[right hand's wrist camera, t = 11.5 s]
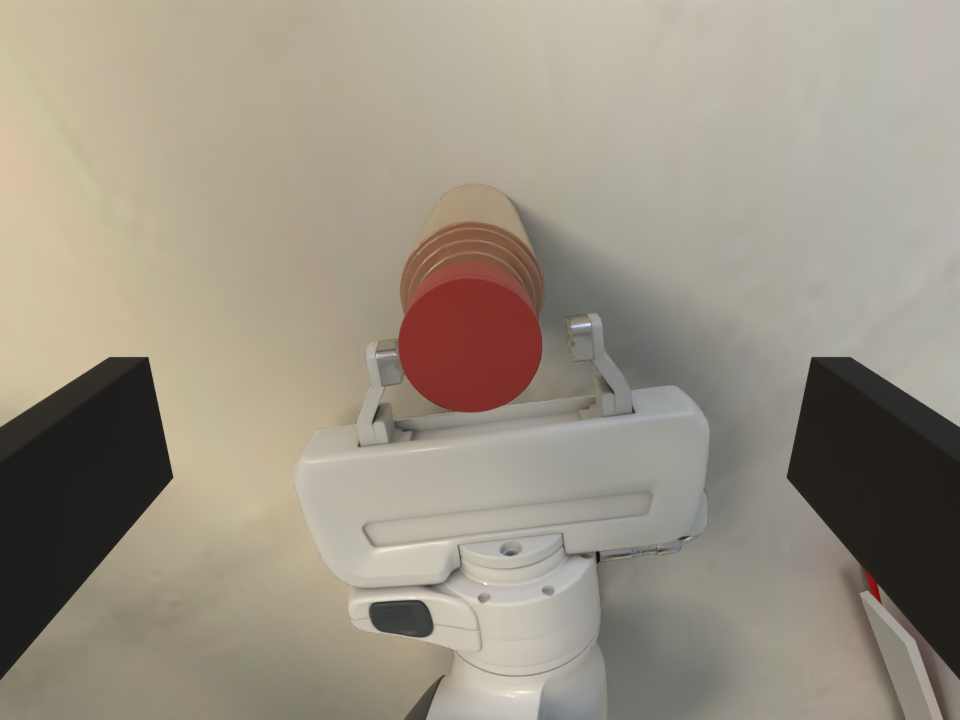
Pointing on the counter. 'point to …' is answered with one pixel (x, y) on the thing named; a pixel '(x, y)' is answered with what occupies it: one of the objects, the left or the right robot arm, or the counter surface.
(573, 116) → the counter surface
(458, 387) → the cap
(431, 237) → the bottle
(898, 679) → the toy
